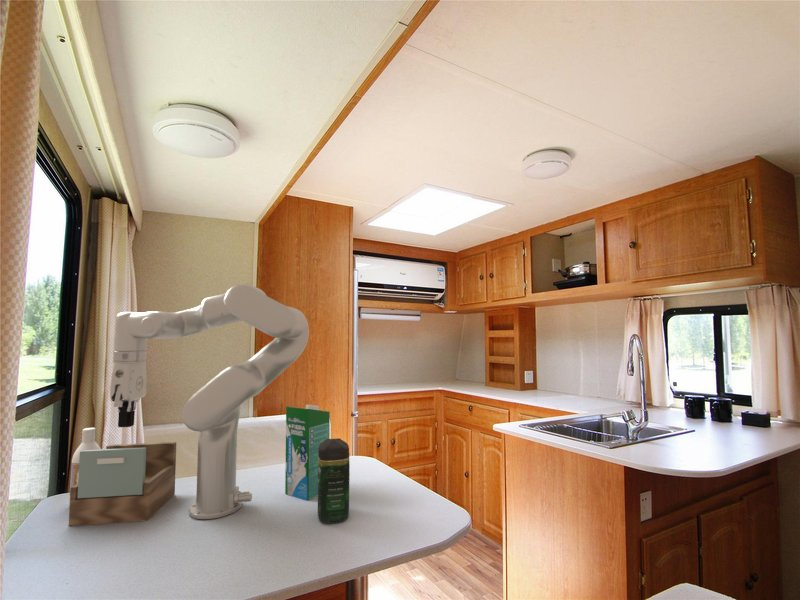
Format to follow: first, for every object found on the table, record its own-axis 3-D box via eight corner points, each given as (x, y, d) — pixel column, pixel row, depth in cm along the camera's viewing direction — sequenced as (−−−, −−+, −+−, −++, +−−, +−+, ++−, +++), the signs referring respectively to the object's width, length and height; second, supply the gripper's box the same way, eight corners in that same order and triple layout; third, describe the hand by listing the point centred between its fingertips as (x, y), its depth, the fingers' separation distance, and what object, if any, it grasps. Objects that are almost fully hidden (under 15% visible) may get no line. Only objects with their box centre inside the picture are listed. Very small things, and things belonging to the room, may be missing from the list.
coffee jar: (351, 522, 98) (351, 444, 100) (318, 526, 96) (318, 447, 98) (347, 506, 107) (347, 435, 109) (317, 509, 106) (317, 437, 107)
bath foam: (67, 509, 108) (71, 432, 109) (70, 500, 113) (74, 428, 115) (99, 503, 111) (103, 429, 113) (101, 495, 117) (104, 424, 119)
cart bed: (174, 495, 116) (176, 441, 118) (147, 520, 101) (150, 458, 102) (106, 499, 114) (109, 444, 115) (68, 525, 98) (71, 462, 99)
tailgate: (144, 492, 102) (146, 447, 103) (140, 495, 100) (142, 449, 101) (80, 496, 100) (82, 450, 101) (75, 499, 98) (78, 452, 99)
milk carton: (329, 489, 119) (329, 403, 121) (307, 500, 111) (308, 408, 113) (307, 484, 124) (308, 401, 126) (284, 494, 116) (285, 405, 118)
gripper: (130, 359, 103) (126, 432, 101) (157, 356, 118) (154, 420, 116) (98, 359, 102) (93, 433, 100) (129, 356, 117) (125, 420, 115)
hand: (125, 426), depth 108 cm, fingers closed
